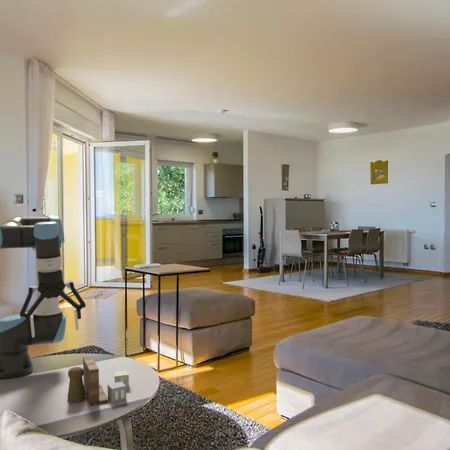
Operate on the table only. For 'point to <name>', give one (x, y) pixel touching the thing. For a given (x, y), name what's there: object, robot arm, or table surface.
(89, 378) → the backstop board
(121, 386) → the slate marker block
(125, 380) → the sage marker block
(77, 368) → the cork
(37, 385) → the table surface
